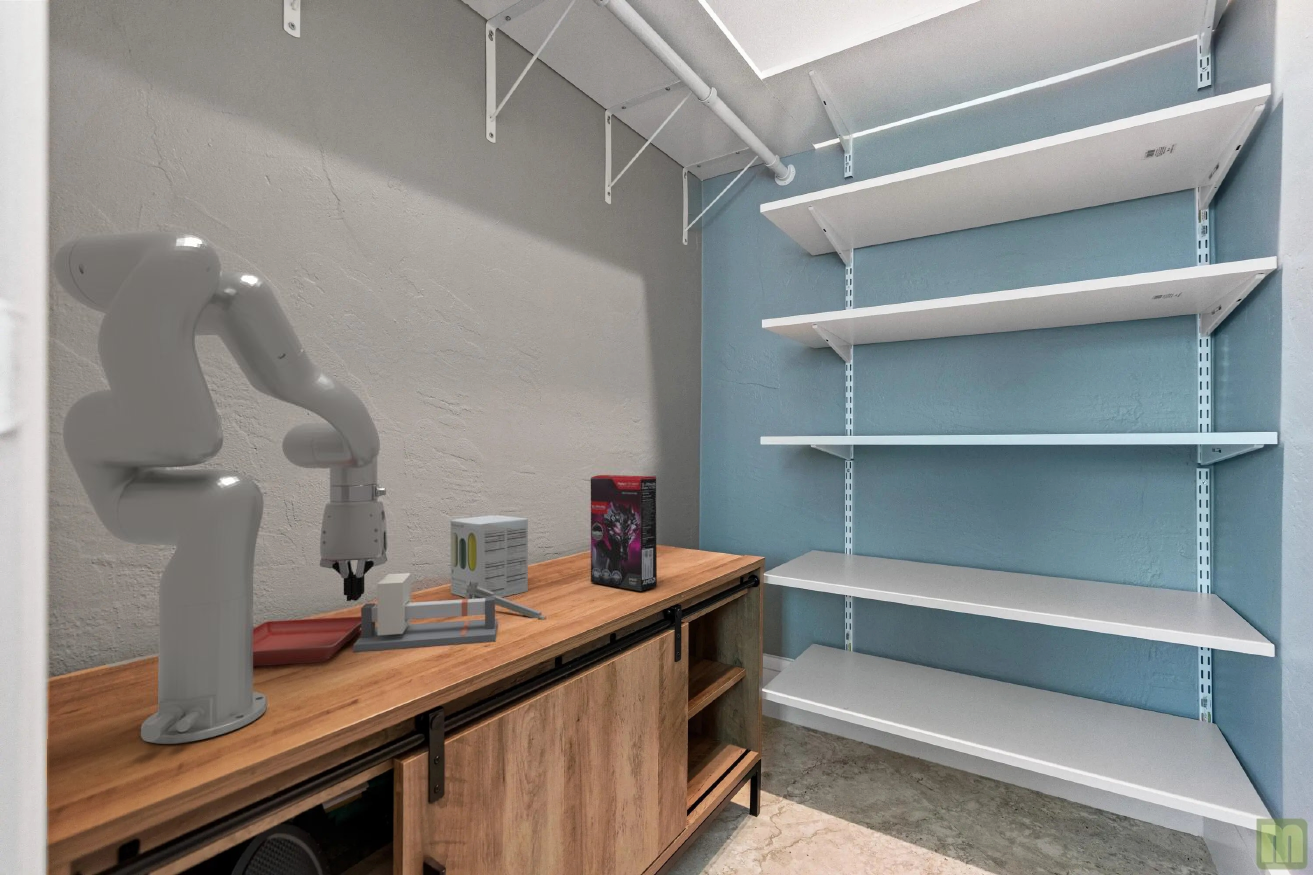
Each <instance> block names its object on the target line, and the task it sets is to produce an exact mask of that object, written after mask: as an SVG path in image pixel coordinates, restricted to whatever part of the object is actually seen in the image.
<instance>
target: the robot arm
mask: <svg viewBox="0 0 1313 875" xmlns="http://www.w3.org/2000/svg"><path fill="white" fill-rule="evenodd" d="M221 264H222V263H221V261H220V257H219V255H218V254H217V251H216V250H215V249H214V247H213V246H212V244H210V243H209V242H208V241H207V240H205V239H203V238H202V237H199V236H197V235H194V234H190V233H185V232H178V231H141V232H129V233H115V234H113V233H110V234H94V235H93V234H92V235H85V236H80V237H77V238H73V239H70V240H68V241H67V242H65V243H63V245H62V246H60V247H59V248H58V250H57V252H56V253H55V255H54V259H53V271H54V275H55V278H56V279H57V280H56V281H58V283H59V286H61V288H62V289H63V290H64V291H65V293H67V294H68V295H69V296H70V297H71V298H73V299H74V300H75V301H77V302H79V303H80V304H82V305H83V306H85V307H87V308H90V309H92V310H94V311H97V312H100V313H103V314H104V316H103V318H102V320H101V324H100V325H99V326H100V327H99V331H98V335H97V352H98V356H99V360H100V362H101V365H102V369H103V372H104V376H105V377H106V380H107V383H108V386H109V389H104V390H98V391H93V392H90V393H88V394H85V395H84V396H82V397H80V398H79V399H77V401H75V402H74V403H73V404H72V406H70V408H69V409H68V411H67V412H66V415H65V418H64V421H63V426H62V427H63V428H62V439H63V440H62V441H63V445H64V449H65V451H66V454H67V456H68V458H69V461H70V463H71V465H72V467H73V468H74V471H75V474H76V475H77V477H78V479H79V481H80V483H81V485H82V487H83V490H84V491H85V493H86V495H87V498H88V500H89V501H90V504H91V505H92V507H93V509H94V512H95V513H96V515H97V517H98V519H99V522H101V524H102V525H103V526H104V528H105V529H106V530H107V531H108V533H110V534H111V535H112V536H114V537H115V538H116V539H118V540H120V541H123V542H125V543H130V544H136V545H137V544H138V545H153V546H155V545H156V546H157V545H159V546H160V545H161V546H165V545H166V546H176V548H175V550H174V552H173V554H172V555H171V557H170V559H169V561H168V562H167V564H166V566H165V567H164V570H163V572H162V574H161V578H160V582H159V588H158V675H157V676H158V678H157V679H158V680H157V682H158V683H157V684H158V689H157V690H158V692H157V695H158V698H157V699H158V700H157V707H158V710H157V711H156V712H155V713H153V714H152V715H150V716H149V717H147V718H146V719H145V721H144V722H142V724H141V726H140V737H141V740H143V741H145V742H148V743H152V744H158V745H159V744H161V745H162V744H163V745H171V744H182V743H190V742H197V741H200V740H206V739H211V738H213V737H216V736H217V737H218V736H220V735H225V734H227V733H230V732H232V731H235V730H237V729H241V728H242V727H244V726H246V725H248V724H250V723H252V722H254V721H255V720H256V719H258V718H260V717H261V716H262V715H263V714H264V713H265V712H266V710H267V708H268V698H267V696H266V695H265V694H263V693H260V692H258V691H254V666H253V628H254V605H255V604H254V598H255V597H254V596H255V595H254V594H255V593H254V577H255V576H254V574H255V572H254V570H255V569H254V568H255V557H256V555H255V554H256V553H255V552H256V546H257V541H258V540H257V539H258V536H259V535H258V534H259V531H260V528H261V524H262V518H263V514H264V507H265V506H264V496H263V493H262V490H261V489H260V486H258V484H257V483H256V482H255V481H254V480H253V479H251V478H250V477H248V476H247V475H245V474H242V473H241V472H236V471H232V470H227V469H226V470H225V469H211V468H210V469H205V468H203V469H202V468H201V469H196V468H195V469H186V468H185V469H166V468H181V467H182V468H183V467H189V466H190V467H191V466H195V465H200V464H202V463H206V462H209V461H210V460H212V459H213V458H215V457H216V456H218V454H219V453H220V451H221V449H222V447H223V444H224V438H225V436H224V431H223V426H222V423H221V419H220V416H219V413H218V410H217V408H216V404H215V402H214V399H213V397H212V394H211V392H210V389H209V386H208V383H207V381H206V378H205V375H204V373H203V369H202V367H201V363H200V361H199V357H198V354H197V349H196V341H195V339H196V337H197V336H217V337H219V338H220V340H221V341H222V343H223V345H224V346H225V347H226V349H227V350H228V351H229V353H230V355H231V356H232V357H233V360H234V361H235V362H236V364H237V365H238V367H239V369H240V370H241V372H242V374H243V375H244V376H245V378H246V379H247V382H249V384H250V385H251V387H252V388H254V390H256V391H258V392H259V393H261V394H263V395H266V396H269V397H271V398H274V399H275V400H279V401H281V402H285V403H288V404H290V405H295V406H296V407H300V408H303V409H305V410H307V411H309V412H312V413H313V414H316V415H317V416H319V417H321V418H322V419H323V420H325V421H326V422H309V423H306V422H305V423H301V424H298V425H296V426H294V427H292V428H291V429H289V431H287V432H286V434H285V435H284V437H283V440H282V445H281V448H282V452H283V455H284V457H285V458H286V460H288V462H290V463H292V465H294V466H296V467H300V468H303V469H329V502H328V503H326V504H325V506H324V511H323V515H322V516H323V517H322V522H321V530H320V538H319V539H320V542H319V553H320V554H319V555H320V561H319V566H320V567H321V568H327V569H333V570H335V572H337V573H338V575H340V577H341V578H342V579H343V596H346V602H351V601H354V602H356V601H358V600H359V599H361V597H362V595H364V594H365V574H367V573H368V572H369V571H370V570H371V569H372V568H374V567H377V566H381V565H384V564H386V563H387V562H388V557H387V553H386V552H387V550H388V532H387V520H386V513H385V508H384V507H385V506H384V503H383V501H381V500H378V499H379V497H381V496H386V495H387V489H386V488H387V487H380V486H379V483H378V456H379V453H380V449H381V443H380V442H381V441H380V436H379V433H378V430H377V427H376V425H375V423H374V420H373V418H372V416H371V415H370V412H369V411H368V409H367V406H366V405H365V404H364V402H363V401H362V400H361V399H360V397H359V396H358V395H357V394H356V393H355V392H354V391H352V389H350V388H349V387H347V386H346V385H345V384H344V383H343V382H341V381H340V380H338V379H337V378H336V377H334V376H333V375H331V374H330V373H329V372H327V371H325V370H324V369H323V368H320V367H319V366H318V365H316V364H315V363H314V362H312V360H311V359H310V357H309V356H308V354H307V352H306V351H305V347H304V346H303V344H302V342H301V341H300V339H299V337H298V335H297V334H296V331H295V330H294V328H293V326H292V325H291V323H290V321H289V320H290V319H289V318H288V317H287V315H286V313H285V311H284V310H283V308H282V306H281V304H280V303H279V301H278V299H277V297H276V295H275V294H274V292H273V290H272V289H271V287H270V285H268V283H267V282H266V281H265V280H264V279H262V278H261V277H259V276H258V275H255V274H253V273H250V272H245V271H237V270H236V271H235V270H227V271H226V270H222V268H221V267H222V266H221ZM352 561H357V564H356V569H355V573H354V571H353V565H352Z"/></svg>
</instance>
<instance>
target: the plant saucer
mask: <svg viewBox="0 0 1313 875" xmlns="http://www.w3.org/2000/svg"><path fill="white" fill-rule="evenodd" d="M359 631H361V615H359V616H341V617H338V616H337V617H325V618H324V617H323V618H304V619H303V618H302V619H301V618H300V619H285V620H283V619H282V620H268V621H264V622H261V623H260V624H257V626H255V627H254V626H253V667H256V666H257V667H259V665H260V666H273V665H275V666H276V665H287V664H289V665H291V664H307V663H322V662H323V663H324V662H325V661H328V660H329V659H330V658H331V657H332V656H334V654H336V653H337V652H338V651H339V650H340V649H341V648H342V647H343V646H345V645H346V644H347V643H348V642H349V641H350V640H352V639H353V638H354V637H355V636H356V635H357V634H358V632H359Z"/></svg>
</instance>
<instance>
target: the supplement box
mask: <svg viewBox="0 0 1313 875" xmlns="http://www.w3.org/2000/svg"><path fill="white" fill-rule="evenodd" d="M528 520H529V519H528V518H524V517H517V516H510V515H497V514H491V515H483V516H473V517H464V518H456V519H450V521H449V522H450V594H452V595H456V596H459V597H463V598H465V593H466V589H467V585H470V581H471V580H474V582H478V585H477V588H478V587H481V588H484V589H486V590H489V591H491V592H494V593H495V595H496V596H499V597H502V598H505V597H508V596H509V597H510V596H513V594H514V595H518V594H523V593H527V592H529V586H528V584H529V582H528V581H529V580H528V578H529V577H528V574H529V572H528V570H529V568H528V566H529V564H528V563H529V562H528V559H529V558H528V557H529V556H528V554H529V553H528V551H529V550H528V549H529V547H528V545H529V543H528V542H529V541H528V540H529V538H528V537H529V534H528V533H529V532H528V528H529V527H528V526H529V524H528V522H529V521H528ZM472 599H474V596H473V597H472Z"/></svg>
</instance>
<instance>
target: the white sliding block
mask: <svg viewBox="0 0 1313 875" xmlns="http://www.w3.org/2000/svg"><path fill="white" fill-rule="evenodd" d="M406 603H412V573H411V572H406V573H388V574H386V575H385V577H383V578H382V579H381V580H380V581H379V582H378V583H377V605H378V622H377V626H376V627H377V635H391V634H403V632H404V631H405V629H406V627H407V626H408V625H409V624H411V621H412V619H410V620H405V604H406Z"/></svg>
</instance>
